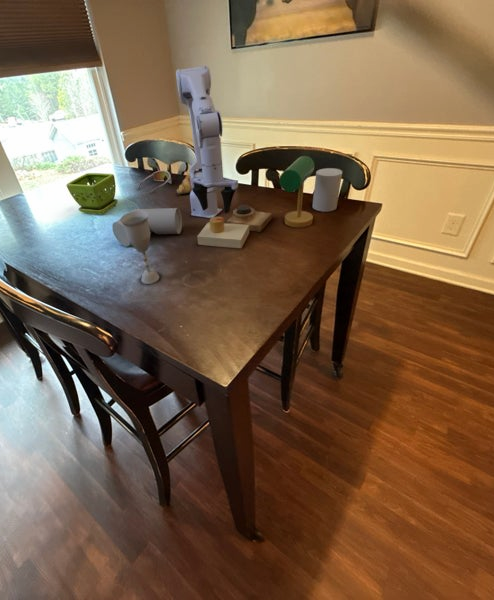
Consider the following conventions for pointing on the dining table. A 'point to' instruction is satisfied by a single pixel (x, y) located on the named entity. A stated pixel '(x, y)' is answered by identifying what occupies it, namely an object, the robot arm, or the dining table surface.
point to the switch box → (251, 219)
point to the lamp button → (243, 209)
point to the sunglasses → (159, 178)
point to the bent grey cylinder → (153, 223)
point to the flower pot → (94, 192)
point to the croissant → (185, 186)
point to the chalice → (140, 240)
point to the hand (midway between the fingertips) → (216, 210)
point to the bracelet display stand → (290, 183)
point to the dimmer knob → (217, 224)
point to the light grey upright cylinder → (326, 189)
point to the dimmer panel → (224, 236)
